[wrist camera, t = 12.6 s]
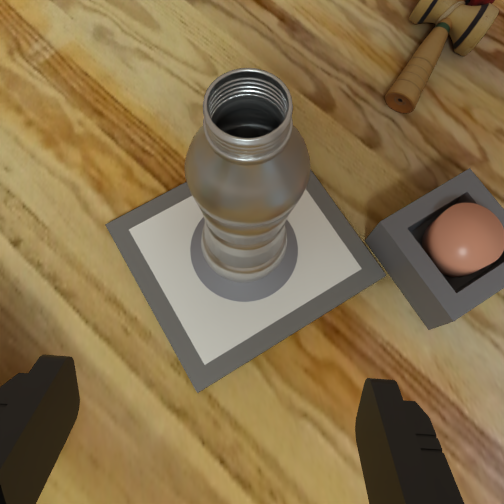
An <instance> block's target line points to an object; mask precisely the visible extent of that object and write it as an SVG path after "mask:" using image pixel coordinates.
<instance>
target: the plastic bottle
mask: <svg viewBox="0 0 504 504" xmlns="http://www.w3.org/2000/svg"><path fill="white" fill-rule="evenodd" d="M292 110H293V105H292V98H291V95H290V92H289V90H288V88H287V87H286V85H285V84H284V83H283V82H282V81H281V80H280V79H279V78H278V77H276V76H275V75H273V74H271V73H269V72H267V71H264V70H260V69H255V68H240V69H236V70H232V71H229V72H227V73H224V74H223V75H221V76H219V77H218V78H217V79H216V80H214V81H213V82H212V83H211V85H210V86H209V88H208V89H207V91H206V94H205V96H204V102H203V114H204V120H203V126H202V127H201V128H200V129H199V130H198V132H197V133H196V134H195V136H194V137H193V140H192V142H191V144H190V147H189V149H188V152H187V155H186V160H185V177H186V180H187V184H188V187H189V189H190V192H191V194H192V196H193V198H194V200H195V202H196V203H197V205H198V206H199V208H200V210H201V211H202V213H203V216H204V219H205V224H204V227H203V231H202V237H201V249H202V252H203V256H204V258H205V260H206V262H207V263H208V264H209V266H210V267H211V268H212V269H213V270H214V271H215V272H216V273H217V274H219V275H220V276H221V277H223V278H225V279H227V280H230V281H233V282H240V283H247V282H253V281H257V280H260V279H262V278H264V277H266V276H267V275H268V274H269V273H271V272H272V271H273V270H275V268H276V267H277V266H278V265H279V264H280V263H281V261H282V259H283V257H284V255H285V252H286V248H287V233H286V227H285V222H286V220H287V217H288V215H289V214H290V212H291V211H292V210H293V208H294V207H295V206H296V204H297V203H298V201H299V200H300V198H301V196H302V195H303V193H304V191H305V189H306V186H307V183H308V180H309V177H310V159H309V154H308V150H307V147H306V144H305V142H304V139H303V137H302V136H301V134H300V133H299V131H298V130H297V129H296V128H295V127H294V126H293V125H292V124H293V123H292Z"/></svg>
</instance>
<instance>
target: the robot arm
mask: <svg viewBox="0 0 504 504" xmlns="http://www.w3.org/2000/svg"><path fill="white" fill-rule="evenodd" d="M79 404H80V397H79V390H78V384H77V378H76V371H75V365H74V360H73V358H72V357H69V356H54V355H42V356H40V357H39V359H38V360H37V361H36V363H35V364H34V366H33V367H32V369H31V370H30V372H29V373H18V374H17V375H16V376H14V377H13V378H12V379H10V380H9V381H8V382H6V383H5V384H4V385H2V386H1V387H0V504H36V502H37V500H38V498H39V496H40V494H41V492H42V490H43V488H44V486H45V484H46V482H47V479H48V477H49V475H50V473H51V471H52V469H53V467H54V465H55V463H56V461H57V459H58V456H59V454H60V452H61V450H62V448H63V446H64V444H65V442H66V440H67V438H68V436H69V434H70V431H71V429H72V427H73V425H74V423H75V421H76V418H77V415H78V411H79ZM355 432H356V442H357V447H358V452H359V456H360V461H361V466H362V471H363V475H364V480H365V485H366V490H367V494H368V499H369V504H464V502H463V499H462V497H461V494H460V492H459V490H458V487H457V485H456V482H455V480H454V477H453V475H452V472H451V470H450V467H449V465H448V462H447V460H446V458H445V455H444V453H442V448H441V445H440V443H439V440H438V438H436V433H435V430H434V428H433V426H432V423H431V421H430V418H429V417H428V415H427V414H426V413H425V412H424V411H423V410H422V409H421V407H420V406H419V405H418V404H417V403H416V402H415V401H403V398H402V395H401V393H400V390H399V387H398V384H397V382H396V381H395V380H386V379H371V378H367V379H366V380H365V383H364V387H363V391H362V396H361V400H360V404H359V408H358V412H357V417H356V425H355Z"/></svg>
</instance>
